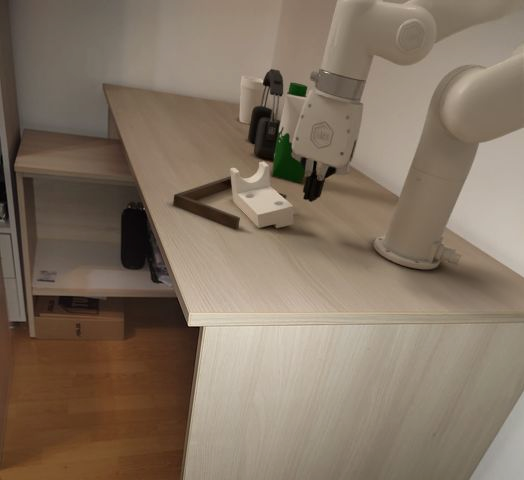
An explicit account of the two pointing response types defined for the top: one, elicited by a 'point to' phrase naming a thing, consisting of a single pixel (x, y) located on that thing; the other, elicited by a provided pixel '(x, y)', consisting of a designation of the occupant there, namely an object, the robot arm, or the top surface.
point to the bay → (188, 203)
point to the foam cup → (250, 96)
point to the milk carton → (289, 135)
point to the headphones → (266, 118)
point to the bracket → (260, 199)
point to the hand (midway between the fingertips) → (310, 198)
